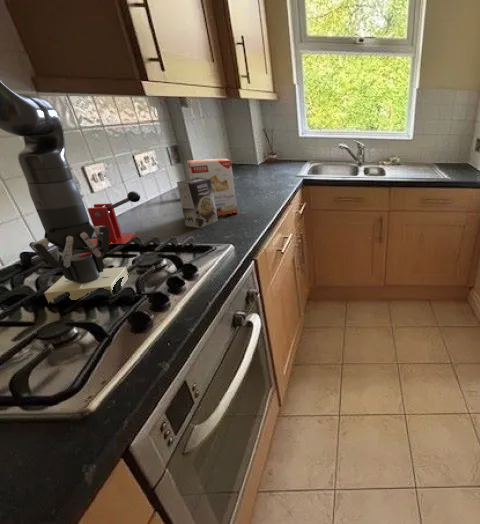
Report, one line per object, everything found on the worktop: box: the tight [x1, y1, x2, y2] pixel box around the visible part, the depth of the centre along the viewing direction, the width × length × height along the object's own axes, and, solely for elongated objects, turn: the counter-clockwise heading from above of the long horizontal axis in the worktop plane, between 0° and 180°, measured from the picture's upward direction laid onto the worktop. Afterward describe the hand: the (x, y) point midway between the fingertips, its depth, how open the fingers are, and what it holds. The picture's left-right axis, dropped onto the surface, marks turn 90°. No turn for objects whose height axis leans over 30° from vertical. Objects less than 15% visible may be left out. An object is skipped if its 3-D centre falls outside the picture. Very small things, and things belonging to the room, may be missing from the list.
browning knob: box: [71, 251, 100, 283], centre depth 74 cm, size 4×4×6 cm
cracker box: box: [186, 158, 239, 217], centre depth 126 cm, size 14×6×21 cm, turn 126°
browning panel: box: [43, 266, 129, 304], centre depth 76 cm, size 12×10×3 cm
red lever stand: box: [87, 202, 138, 248], centre depth 99 cm, size 11×9×12 cm
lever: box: [102, 190, 141, 213], centre depth 98 cm, size 13×3×3 cm, turn 108°
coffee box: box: [176, 178, 219, 229], centre depth 115 cm, size 9×6×16 cm
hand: (86, 275), depth 75 cm, fingers closed on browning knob, 4 cm apart
